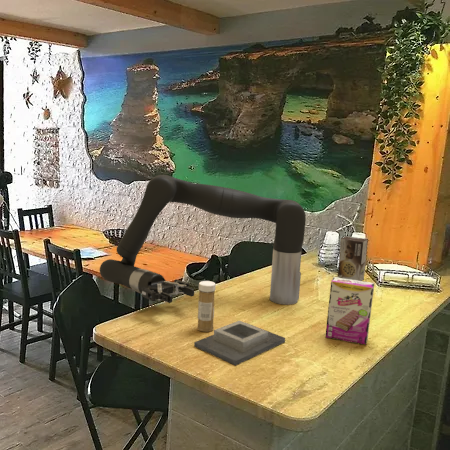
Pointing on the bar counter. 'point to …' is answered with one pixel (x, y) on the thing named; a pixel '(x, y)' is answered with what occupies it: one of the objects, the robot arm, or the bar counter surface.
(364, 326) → the candy bar box
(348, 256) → the cookie box
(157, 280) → the robot arm
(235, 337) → the collar socket
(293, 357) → the bar counter surface
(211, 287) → the sprinkles bottle
